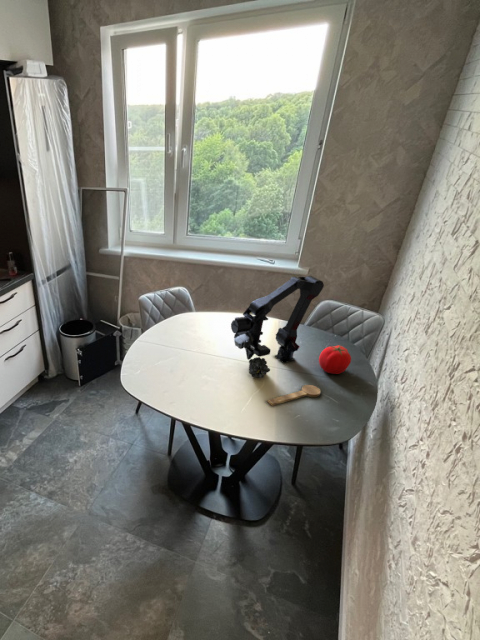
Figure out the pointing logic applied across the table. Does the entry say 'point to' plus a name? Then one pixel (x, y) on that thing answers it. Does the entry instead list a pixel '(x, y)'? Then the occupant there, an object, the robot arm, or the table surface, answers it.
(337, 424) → the table surface
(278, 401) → the spoon
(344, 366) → the tomato
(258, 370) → the fruit
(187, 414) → the table surface
